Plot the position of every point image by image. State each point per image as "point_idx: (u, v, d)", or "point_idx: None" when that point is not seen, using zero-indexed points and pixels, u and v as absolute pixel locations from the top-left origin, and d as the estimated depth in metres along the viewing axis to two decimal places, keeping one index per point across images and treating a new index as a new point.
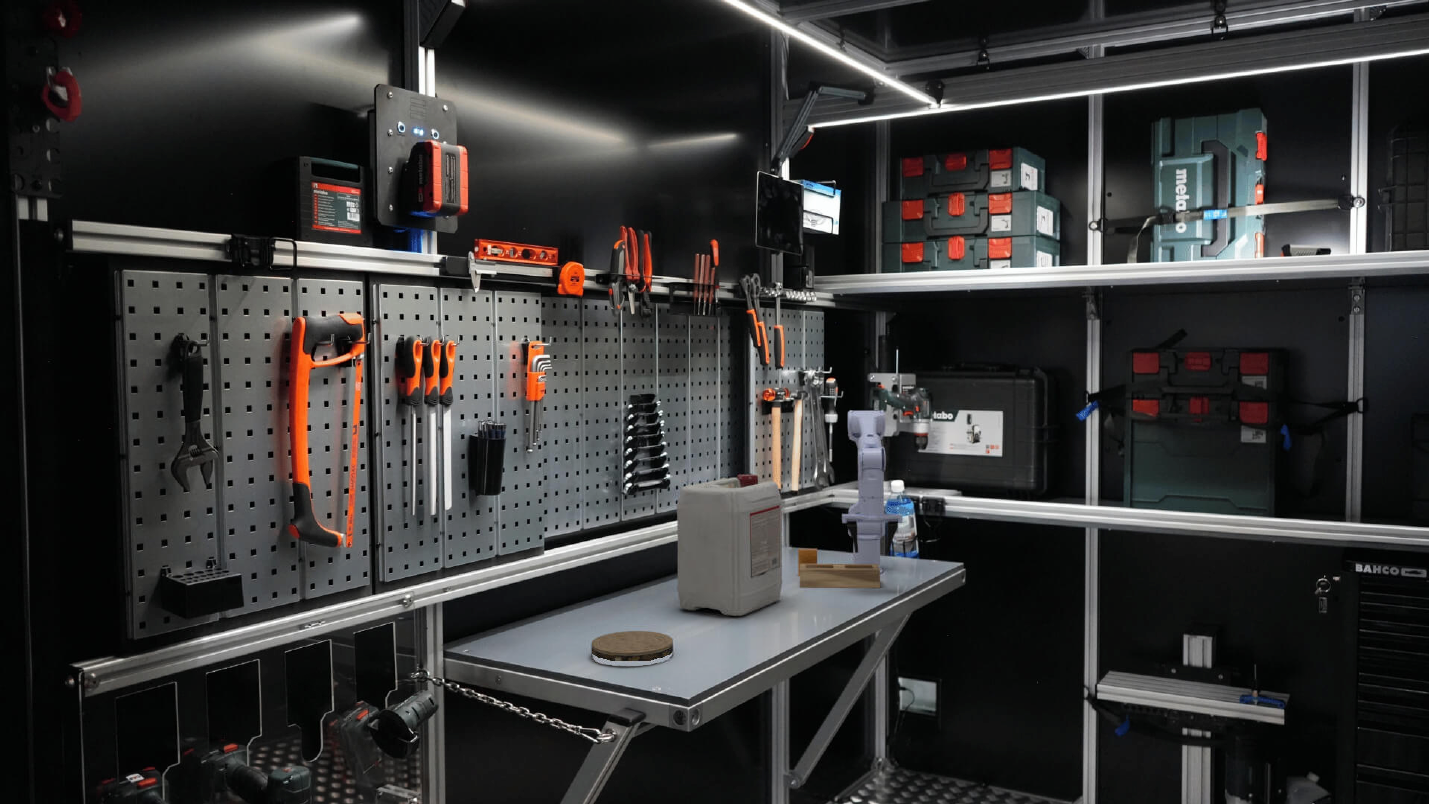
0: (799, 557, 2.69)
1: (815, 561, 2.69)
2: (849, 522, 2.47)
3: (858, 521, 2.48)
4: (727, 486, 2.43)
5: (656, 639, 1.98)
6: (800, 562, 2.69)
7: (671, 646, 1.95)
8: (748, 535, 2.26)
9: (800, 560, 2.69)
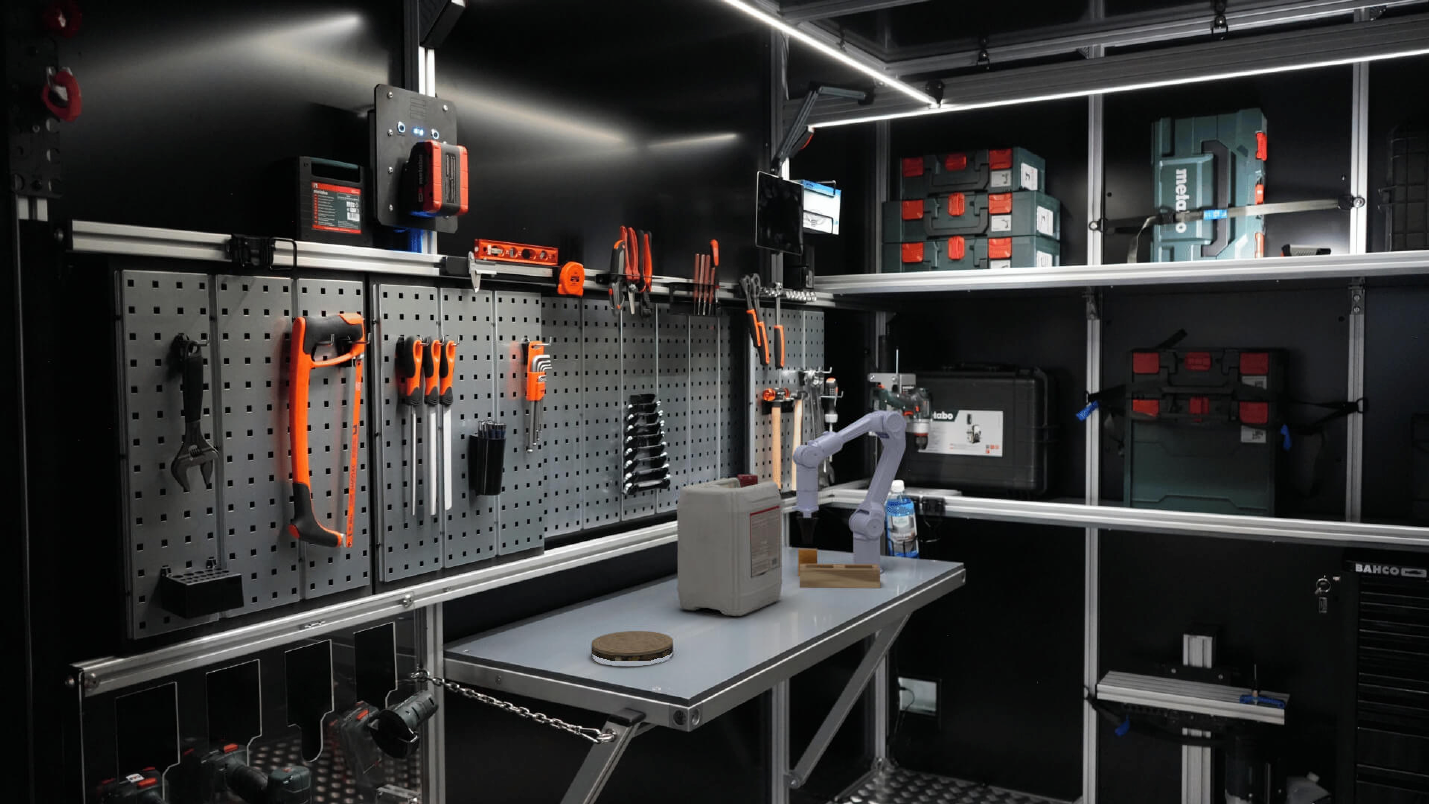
0: (799, 557, 2.69)
1: (815, 561, 2.69)
2: None
3: None
4: (727, 486, 2.43)
5: (656, 638, 1.98)
6: (800, 562, 2.69)
7: (671, 646, 1.95)
8: (748, 535, 2.26)
9: (800, 560, 2.69)
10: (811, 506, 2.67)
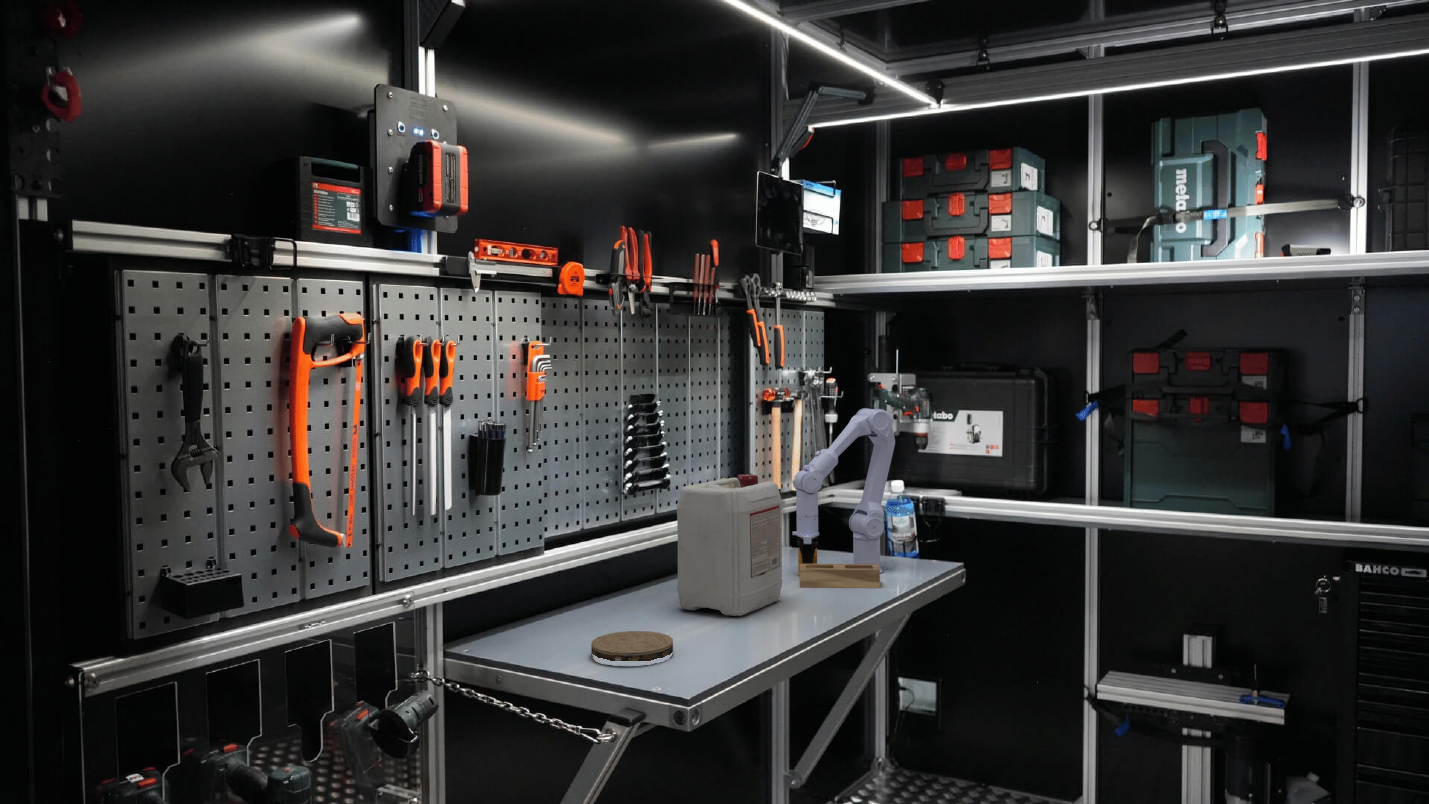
0: (799, 557, 2.69)
1: (815, 561, 2.69)
2: None
3: None
4: (727, 486, 2.43)
5: (656, 638, 1.98)
6: (800, 562, 2.69)
7: (671, 646, 1.95)
8: (748, 535, 2.26)
9: (800, 560, 2.69)
10: (812, 532, 2.67)
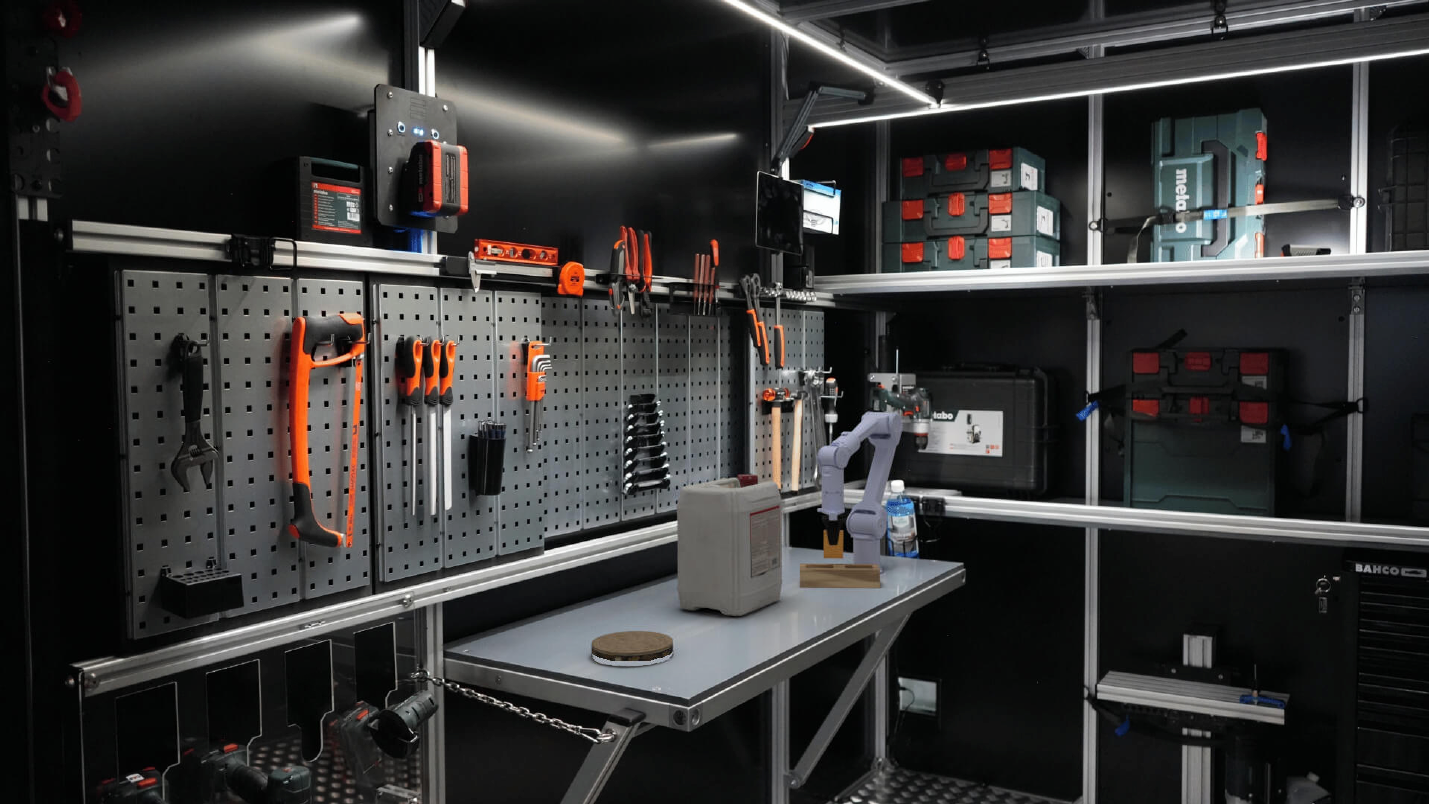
0: (824, 538, 2.63)
1: (841, 543, 2.62)
2: None
3: None
4: (727, 486, 2.43)
5: (656, 639, 1.98)
6: (825, 544, 2.63)
7: (671, 646, 1.95)
8: (748, 535, 2.26)
9: (826, 542, 2.63)
10: (837, 508, 2.61)
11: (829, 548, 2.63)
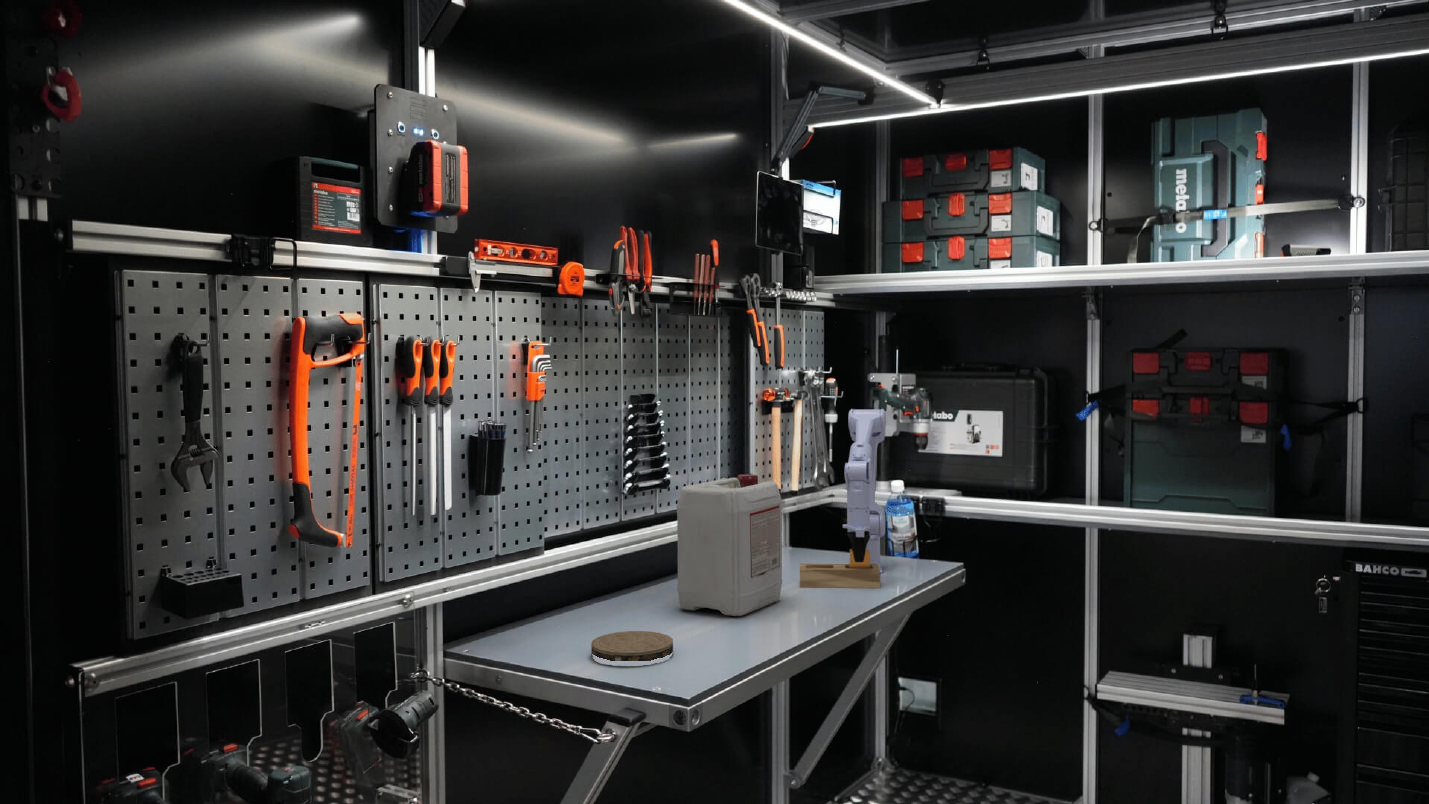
0: (851, 558, 2.57)
1: (867, 563, 2.56)
2: None
3: None
4: (727, 486, 2.43)
5: (656, 638, 1.98)
6: (851, 563, 2.57)
7: (671, 646, 1.95)
8: (748, 536, 2.26)
9: (852, 561, 2.57)
10: (863, 524, 2.55)
11: None
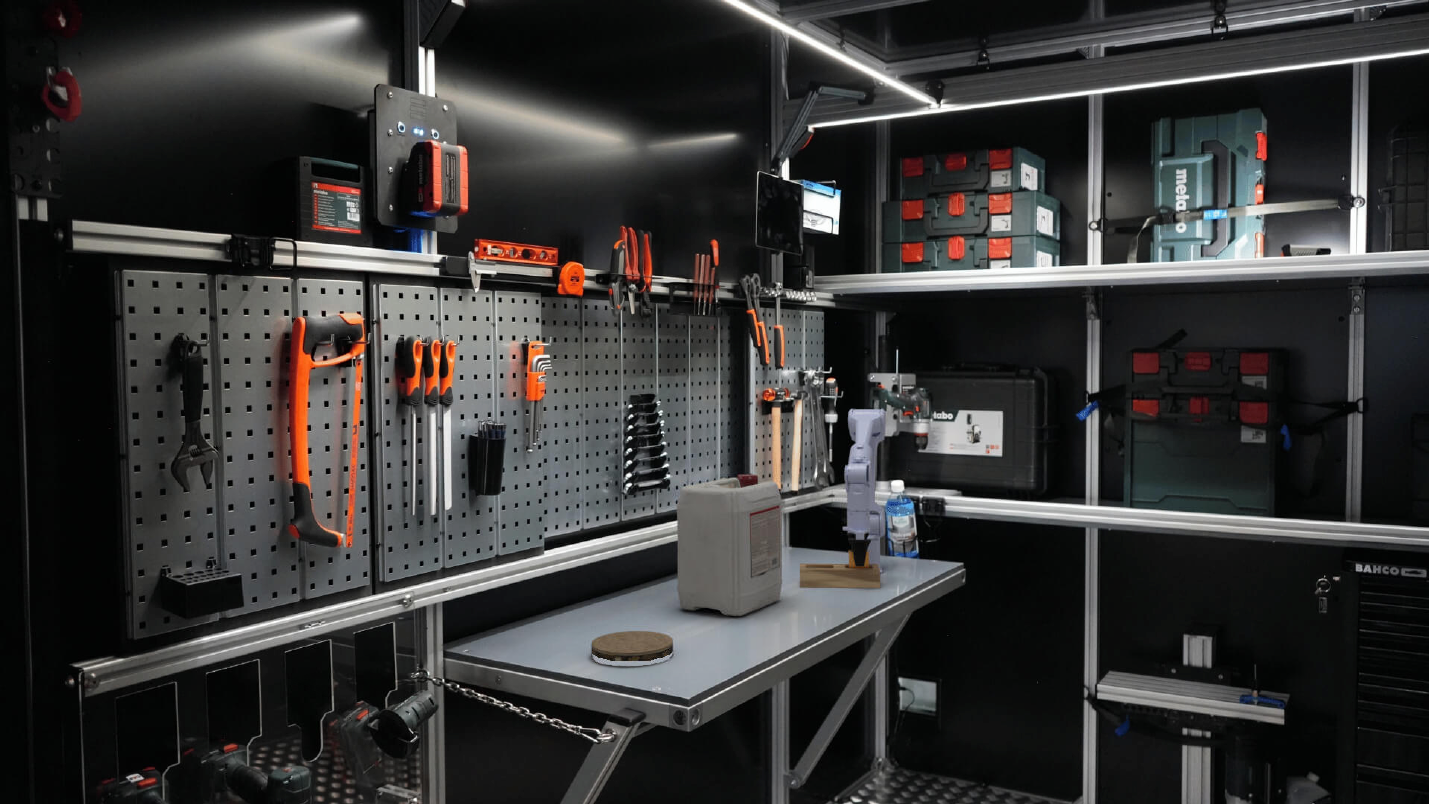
0: (850, 559, 2.57)
1: (867, 563, 2.56)
2: None
3: None
4: (727, 486, 2.43)
5: (656, 638, 1.98)
6: (850, 565, 2.57)
7: (671, 646, 1.95)
8: (748, 536, 2.26)
9: (851, 563, 2.57)
10: (864, 527, 2.55)
11: None
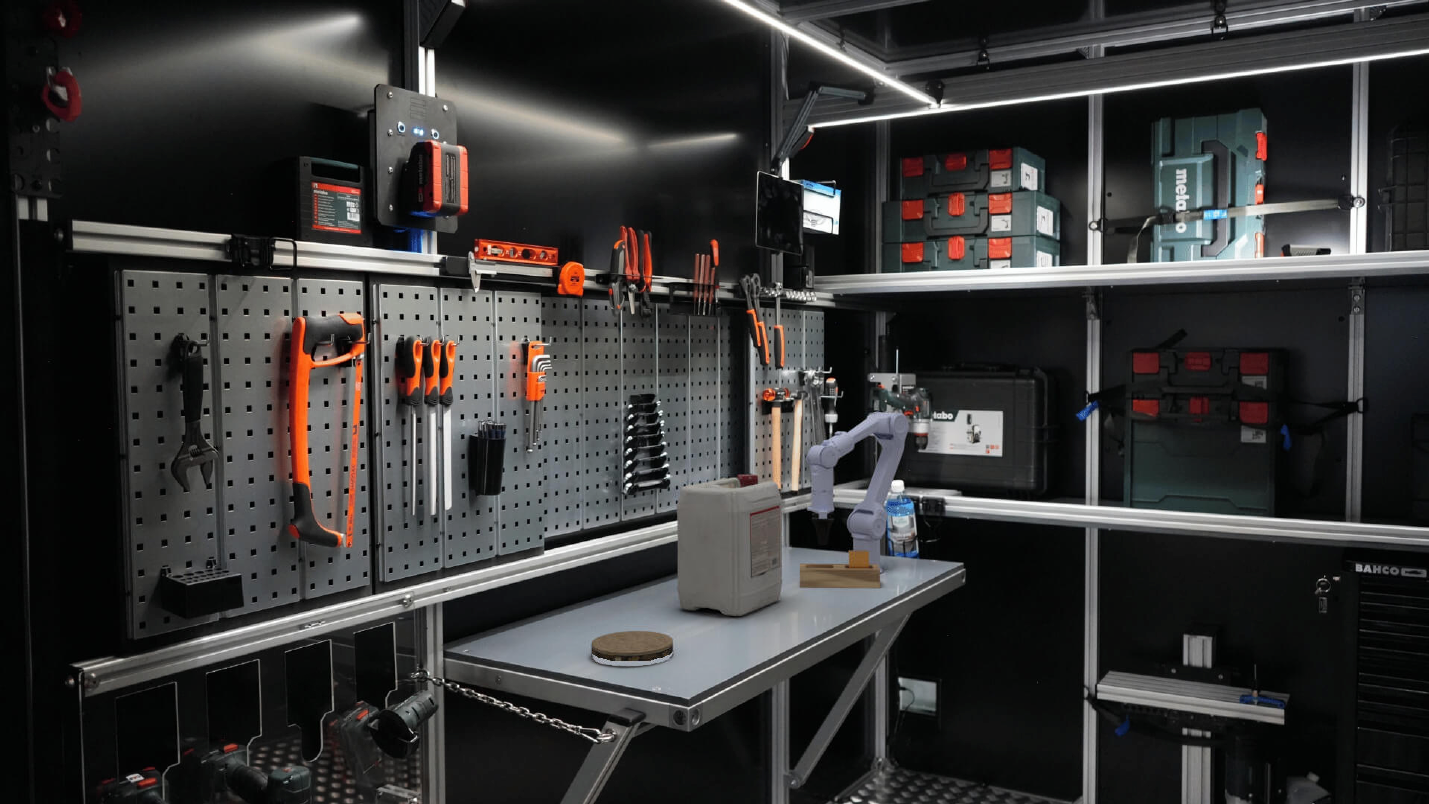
0: (850, 559, 2.57)
1: (867, 563, 2.56)
2: None
3: None
4: (727, 486, 2.43)
5: (656, 638, 1.98)
6: (850, 565, 2.57)
7: (671, 646, 1.95)
8: (748, 536, 2.26)
9: (851, 563, 2.57)
10: (827, 507, 2.64)
11: None
